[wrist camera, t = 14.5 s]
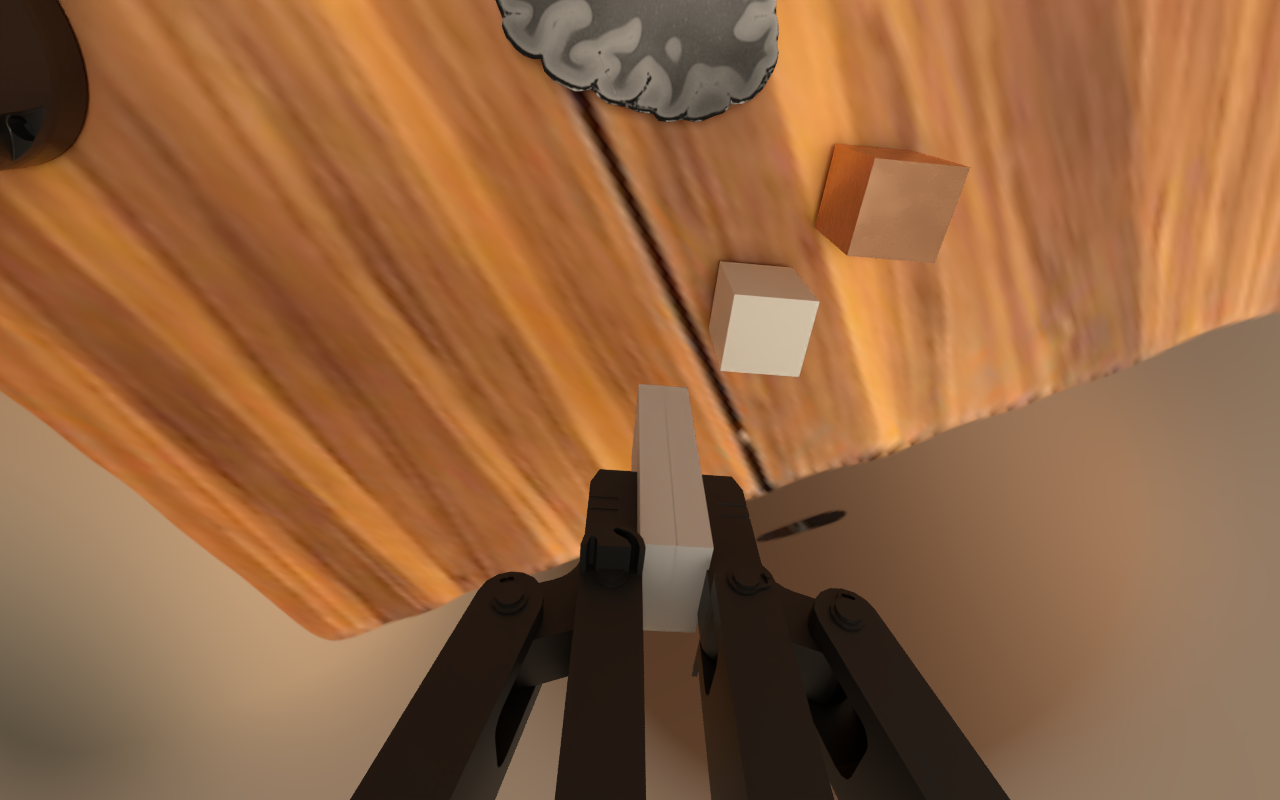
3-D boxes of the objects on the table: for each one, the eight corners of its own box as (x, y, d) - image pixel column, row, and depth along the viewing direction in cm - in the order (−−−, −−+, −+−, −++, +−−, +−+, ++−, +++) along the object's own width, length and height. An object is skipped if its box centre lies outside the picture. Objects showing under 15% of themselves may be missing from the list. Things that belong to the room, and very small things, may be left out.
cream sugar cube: (708, 329, 41) (720, 370, 35) (720, 261, 38) (734, 294, 33) (776, 334, 41) (799, 376, 36) (792, 267, 39) (819, 301, 33)
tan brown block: (810, 223, 38) (846, 255, 31) (831, 142, 35) (875, 158, 29) (883, 230, 38) (934, 263, 32) (908, 149, 36) (970, 167, 29)
